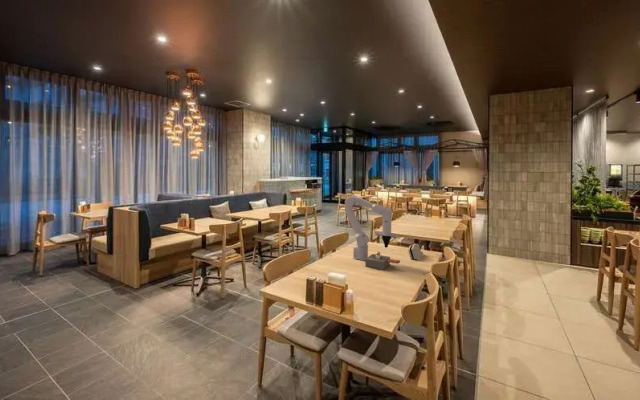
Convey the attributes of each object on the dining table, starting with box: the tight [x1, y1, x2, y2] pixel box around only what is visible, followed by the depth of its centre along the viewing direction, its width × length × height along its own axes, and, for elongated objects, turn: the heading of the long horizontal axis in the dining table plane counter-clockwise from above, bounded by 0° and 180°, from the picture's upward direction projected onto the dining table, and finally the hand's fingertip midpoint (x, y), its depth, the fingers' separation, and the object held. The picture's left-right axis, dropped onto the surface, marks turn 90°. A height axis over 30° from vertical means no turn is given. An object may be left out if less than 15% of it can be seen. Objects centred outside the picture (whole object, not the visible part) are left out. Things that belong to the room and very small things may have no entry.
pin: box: [375, 251, 381, 259], centre depth 196 cm, size 3×3×8 cm
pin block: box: [365, 253, 391, 271], centre depth 197 cm, size 12×12×5 cm
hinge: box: [407, 243, 424, 262], centre depth 214 cm, size 17×5×10 cm, turn 148°
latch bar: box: [387, 258, 401, 265], centre depth 191 cm, size 7×4×1 cm, turn 59°
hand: (386, 247), depth 203 cm, fingers closed
